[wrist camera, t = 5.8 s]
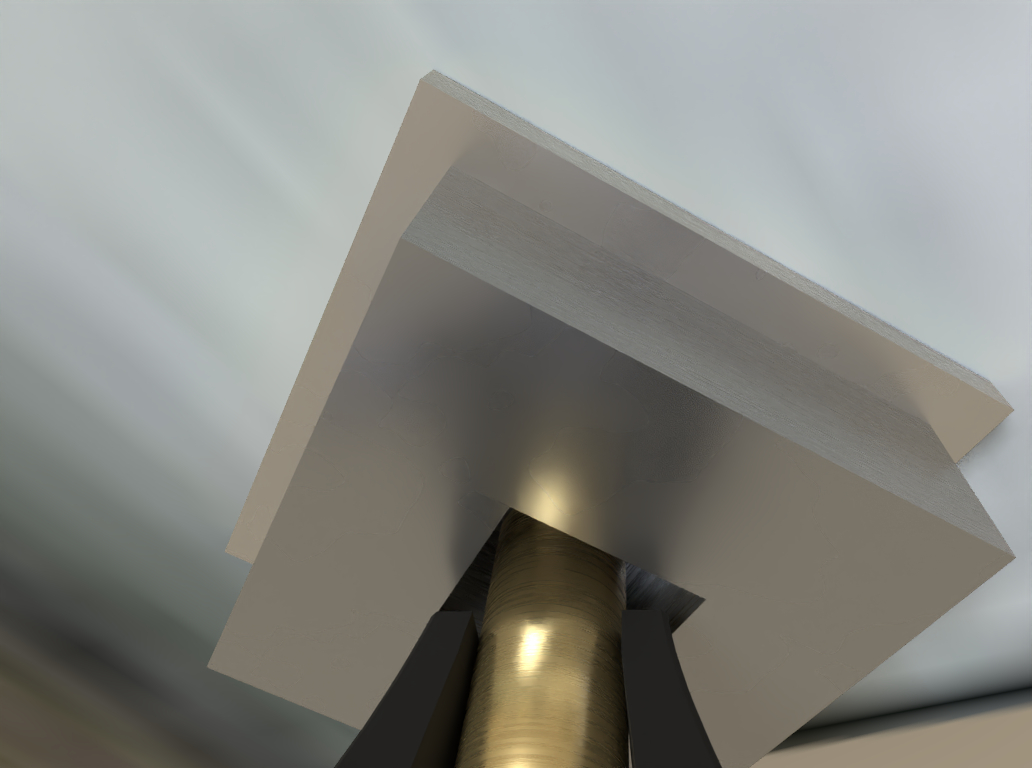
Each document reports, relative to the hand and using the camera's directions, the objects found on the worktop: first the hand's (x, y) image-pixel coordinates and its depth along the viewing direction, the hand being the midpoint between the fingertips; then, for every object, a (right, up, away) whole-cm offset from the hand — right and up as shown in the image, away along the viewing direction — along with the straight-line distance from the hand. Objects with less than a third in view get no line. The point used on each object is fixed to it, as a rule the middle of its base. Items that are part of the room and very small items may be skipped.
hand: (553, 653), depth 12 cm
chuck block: (+1, +3, +4) cm, 5 cm away
